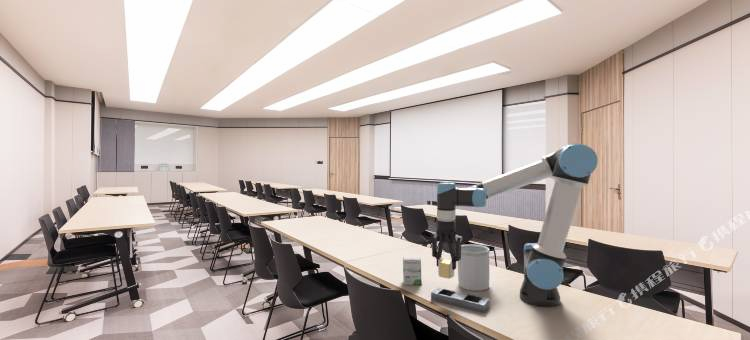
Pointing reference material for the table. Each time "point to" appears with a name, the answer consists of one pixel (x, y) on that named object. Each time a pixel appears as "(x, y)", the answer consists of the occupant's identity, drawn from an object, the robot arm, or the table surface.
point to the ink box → (412, 271)
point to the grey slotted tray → (461, 299)
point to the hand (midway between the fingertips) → (446, 275)
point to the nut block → (444, 269)
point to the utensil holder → (474, 267)
